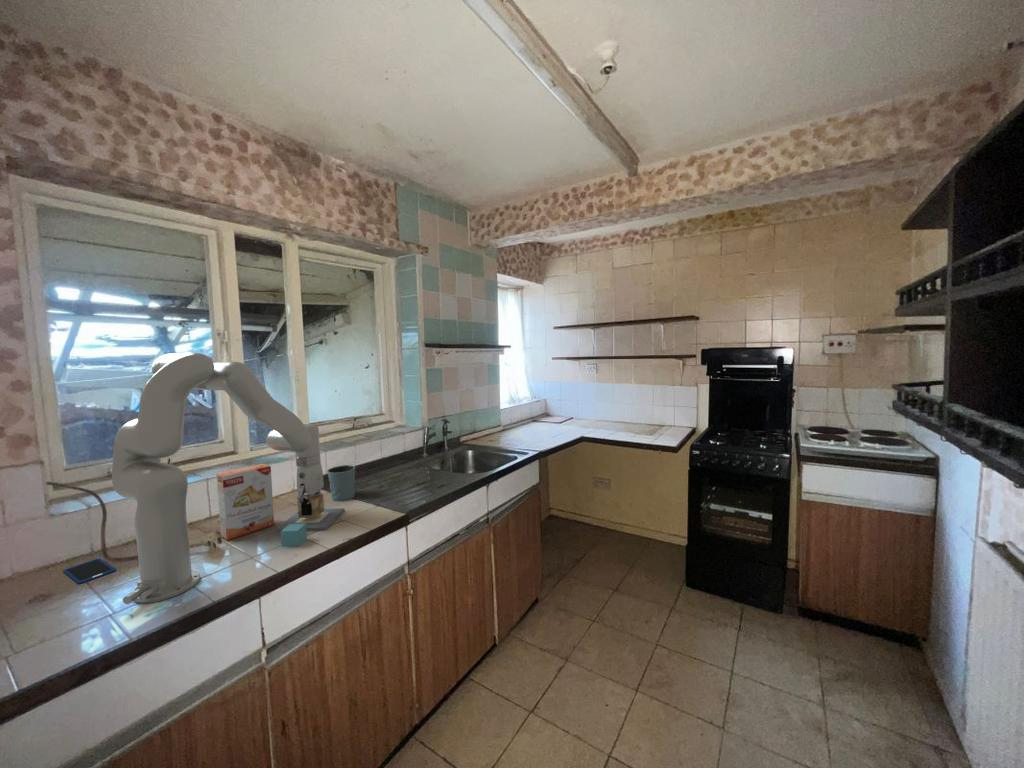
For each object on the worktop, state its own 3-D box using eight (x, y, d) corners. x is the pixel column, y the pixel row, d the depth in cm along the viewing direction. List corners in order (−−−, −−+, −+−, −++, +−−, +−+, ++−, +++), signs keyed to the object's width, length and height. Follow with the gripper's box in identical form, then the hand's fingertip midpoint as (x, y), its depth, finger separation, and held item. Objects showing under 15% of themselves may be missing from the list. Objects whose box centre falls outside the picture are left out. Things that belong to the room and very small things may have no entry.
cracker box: (227, 541, 123) (221, 476, 121) (220, 536, 126) (215, 473, 125) (275, 525, 134) (271, 465, 132) (267, 521, 138) (263, 462, 136)
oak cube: (316, 517, 134) (315, 500, 133) (298, 517, 133) (297, 500, 133) (324, 510, 140) (323, 493, 139) (307, 510, 139) (306, 494, 139)
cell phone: (78, 586, 101) (78, 583, 101) (62, 572, 108) (61, 569, 108) (117, 572, 107) (117, 569, 107) (99, 559, 114) (99, 557, 114)
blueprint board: (325, 530, 129) (325, 526, 129) (276, 532, 129) (275, 528, 128) (344, 510, 145) (344, 507, 145) (300, 512, 144) (300, 509, 144)
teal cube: (298, 546, 119) (297, 530, 118) (281, 547, 118) (280, 531, 118) (306, 538, 124) (305, 523, 123) (290, 539, 123) (289, 524, 123)
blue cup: (361, 493, 163) (359, 465, 162) (348, 502, 153) (346, 472, 152) (337, 493, 164) (336, 465, 163) (324, 502, 154) (322, 472, 153)
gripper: (307, 467, 127) (310, 521, 128) (330, 453, 144) (332, 501, 145) (283, 467, 126) (287, 522, 128) (309, 454, 144) (312, 502, 145)
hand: (311, 510), depth 136 cm, fingers closed on oak cube, 5 cm apart
